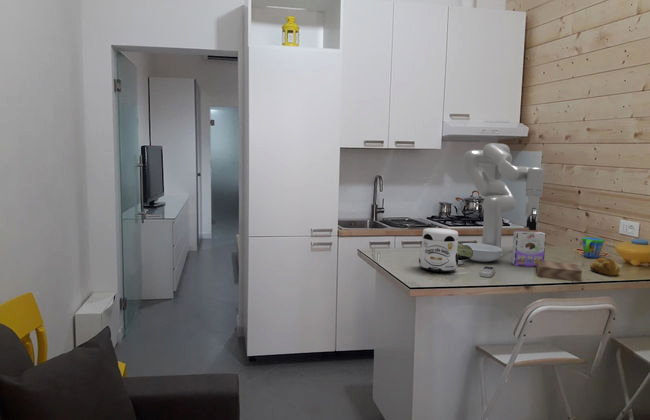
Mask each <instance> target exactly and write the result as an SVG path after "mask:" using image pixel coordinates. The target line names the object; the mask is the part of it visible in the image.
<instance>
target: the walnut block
mask: <svg viewBox="0 0 650 420" xmlns="http://www.w3.org/2000/svg"><path fill="white" fill-rule="evenodd" d="M535 268H536V275H537V277H538V278H545V279H556V280H564V281H575V282H582V272H583V271H582V269H581V268H580V266H579V265H578V264H577V263H576V264H575V263H566V262H556V261H555V262H554V261H548V260H547V261H546V260H544V261H537V267H535Z"/></svg>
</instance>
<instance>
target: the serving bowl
mask: <svg viewBox="0 0 650 420" xmlns="http://www.w3.org/2000/svg"><path fill="white" fill-rule="evenodd" d="M462 244H463V245H468V246H470V247H471V248H472V250H473V257H472V258H471V260H470V261H474V262H478V263H487V262H492V261H493V262H494V261H496V260H498V259H500V257H502V256H501V254H502V253H503V248H500V247H497V246H492V245H487V244H482V243H479V242H478V243H476V242H466V243H465V242H464V243H462Z"/></svg>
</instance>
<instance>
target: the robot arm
mask: <svg viewBox="0 0 650 420" xmlns="http://www.w3.org/2000/svg"><path fill="white" fill-rule="evenodd" d="M462 161H463V162H462V163H463V168H464V170H465V172H466V173H467V175H468V176H469V178H470V179H471V181H472V182H473V183H472V184H473V185H474V186H475V188H476V191H477V192H478V194H479V195H480V196H481V197H483V198H484V199H483V201H482V208H483V226H482V227H483V228H482V240H481V244H487V245H492V246H497V247H500V248H501V246H502V233H503V224H504V223H503V219H502V214H509V213H512V212H514V211H515V210H516V208H517V202H516V199H515V197H514V196H513V194H512V192H511V190H510V189H509V186H508V185H507V184H506V182H504V181H503V180H501V179H492V178H490V176H489V175H488V173H487V172H486V171H485V169H484V168H483V167H481V166H488V167H489V166H493V165H496V167H497V169H498V172H499V174H500V175H501V176H502V177H503V178H505V179H506V180H507V181H510V182H515V183H516V182H518V183H519V182H520V183H525V191H524V196H525V197H526V201H525V202H526V203H525V212H524V216H526V225H525V228H528V231H536V230H537V225H538V224H537V223H538V220H537V218H538V217H539V210H540V209H539V208H540V198H542V197H543V189H544V174H545V170H544V168H543V167H532V166H522V165H521V166H520V165H519V166H517V165H513V164H512V162H513V156H512V154H511V150H510V147H509V145H507V144H505V143H494V142H493V143H492V142H491V143H487V144H485V145H484V147H483V148H482V149H470V150H468V151H466V152H465V154H464V155H463V160H462ZM503 256H504V253H503V252H502V254H501V256H500V257H503Z"/></svg>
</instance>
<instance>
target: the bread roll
mask: <svg viewBox="0 0 650 420" xmlns="http://www.w3.org/2000/svg"><path fill="white" fill-rule="evenodd" d="M589 268H590V270H591V271H592V272H595V273H598V274H601V275H602V276H603V275H604V276H617V275H618V274H620V271H621V269H620V268H621V267H620V265H619V264H618V262H616V261H615V260H613V259H611V258H607V259H605V258H603V257H599V258H595V260H594V261H593V262H592V263H591V264H590V266H589Z"/></svg>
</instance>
